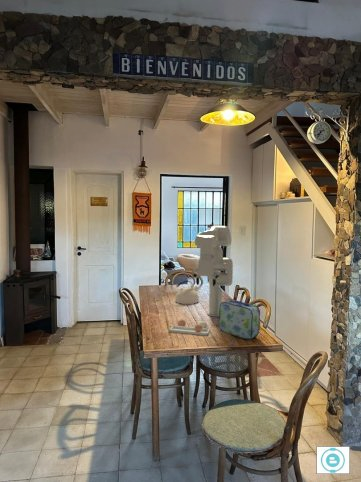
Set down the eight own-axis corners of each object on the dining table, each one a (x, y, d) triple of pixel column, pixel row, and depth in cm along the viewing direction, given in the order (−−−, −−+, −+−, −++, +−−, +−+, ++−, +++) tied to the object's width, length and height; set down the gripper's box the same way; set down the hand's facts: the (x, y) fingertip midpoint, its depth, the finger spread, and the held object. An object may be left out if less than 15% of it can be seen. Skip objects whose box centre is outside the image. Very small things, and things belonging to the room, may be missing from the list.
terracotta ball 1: (179, 325, 221) (179, 318, 221) (186, 326, 220) (186, 318, 219) (177, 327, 216) (177, 320, 216) (184, 328, 215) (184, 320, 215)
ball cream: (200, 327, 218) (200, 319, 217) (207, 328, 216) (207, 320, 216) (198, 329, 213) (198, 322, 212) (206, 330, 212) (206, 322, 211)
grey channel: (172, 329, 215) (172, 325, 215) (209, 332, 209) (209, 328, 209) (169, 333, 207) (169, 329, 207) (207, 337, 201) (207, 333, 201)
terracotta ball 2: (195, 330, 210) (195, 322, 209) (203, 331, 209) (203, 323, 208) (193, 333, 205) (193, 325, 205) (201, 334, 204) (201, 326, 203)
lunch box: (262, 338, 201) (263, 304, 199) (252, 342, 193) (252, 307, 192) (227, 327, 219) (228, 296, 218) (217, 331, 212) (217, 298, 210)
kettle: (203, 302, 281) (203, 281, 280) (181, 305, 272) (181, 283, 271) (192, 297, 299) (192, 277, 298) (171, 299, 290) (171, 279, 289)
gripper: (221, 256, 202) (220, 284, 203) (193, 255, 206) (193, 283, 208) (219, 258, 195) (219, 287, 196) (190, 257, 199) (190, 285, 200)
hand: (205, 285), depth 202 cm, fingers open, 9 cm apart
